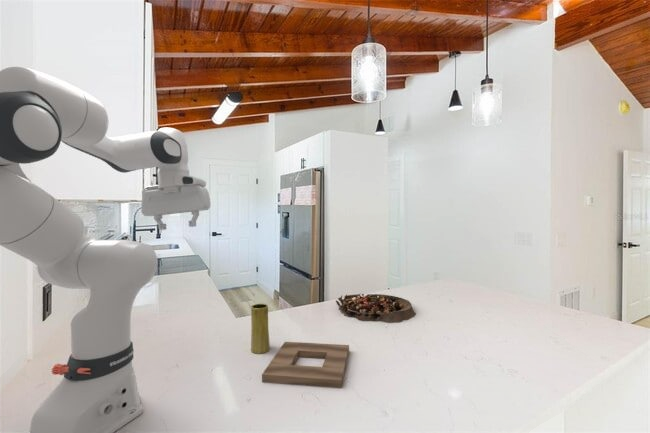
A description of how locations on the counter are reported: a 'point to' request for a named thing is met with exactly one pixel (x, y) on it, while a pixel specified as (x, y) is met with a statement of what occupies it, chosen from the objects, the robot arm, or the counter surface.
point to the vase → (259, 329)
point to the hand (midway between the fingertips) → (177, 228)
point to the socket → (323, 376)
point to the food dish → (376, 308)
